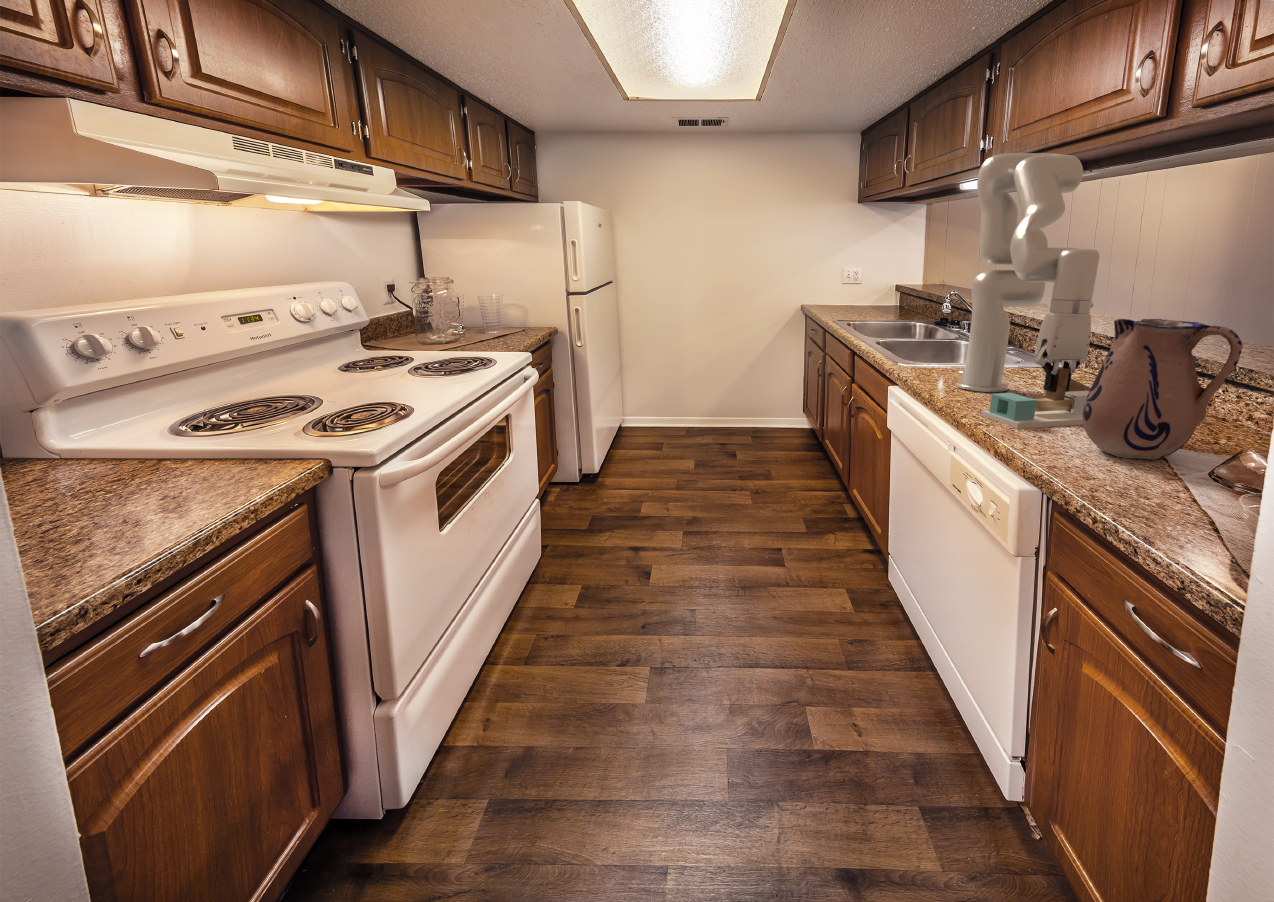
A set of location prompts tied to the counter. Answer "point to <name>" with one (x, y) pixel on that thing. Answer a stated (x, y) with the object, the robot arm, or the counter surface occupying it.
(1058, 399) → the tan wooden l-shaped piece
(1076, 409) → the sleeve
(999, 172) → the robot arm
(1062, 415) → the base board
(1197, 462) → the counter surface
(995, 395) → the socket block
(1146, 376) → the ceramic pitcher
